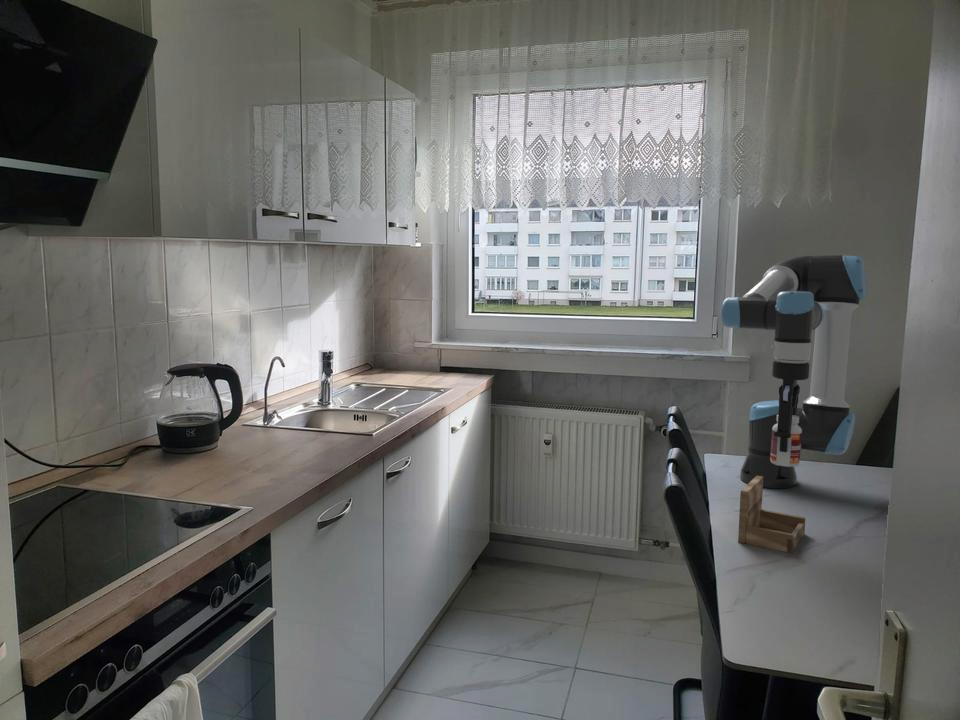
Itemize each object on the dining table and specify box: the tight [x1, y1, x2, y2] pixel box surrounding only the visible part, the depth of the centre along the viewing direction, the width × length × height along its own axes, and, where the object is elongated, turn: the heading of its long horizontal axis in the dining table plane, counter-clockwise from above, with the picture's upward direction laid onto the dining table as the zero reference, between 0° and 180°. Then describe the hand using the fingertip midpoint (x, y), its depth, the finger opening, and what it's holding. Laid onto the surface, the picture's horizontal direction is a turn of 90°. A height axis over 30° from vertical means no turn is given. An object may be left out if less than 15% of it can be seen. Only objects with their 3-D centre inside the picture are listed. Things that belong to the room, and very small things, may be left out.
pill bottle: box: [770, 415, 802, 468], centre depth 162 cm, size 6×6×11 cm
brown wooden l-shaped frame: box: [737, 476, 806, 554], centre depth 164 cm, size 14×11×12 cm
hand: (784, 461), depth 163 cm, fingers closed on pill bottle, 6 cm apart
